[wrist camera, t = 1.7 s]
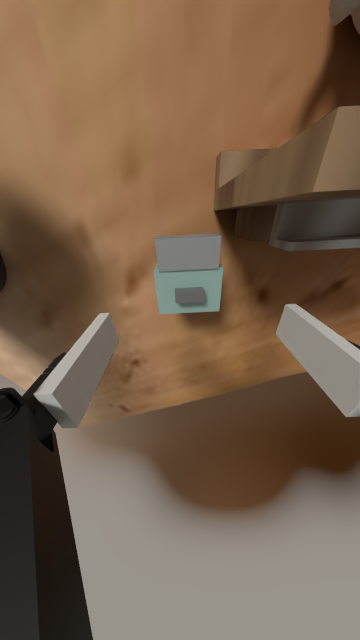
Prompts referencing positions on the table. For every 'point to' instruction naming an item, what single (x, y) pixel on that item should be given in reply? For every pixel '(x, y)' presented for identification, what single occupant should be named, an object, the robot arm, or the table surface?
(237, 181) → the wall board
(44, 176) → the table surface
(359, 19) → the teacup
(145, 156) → the table surface
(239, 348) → the table surface
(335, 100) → the table surface
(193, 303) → the cabinet
